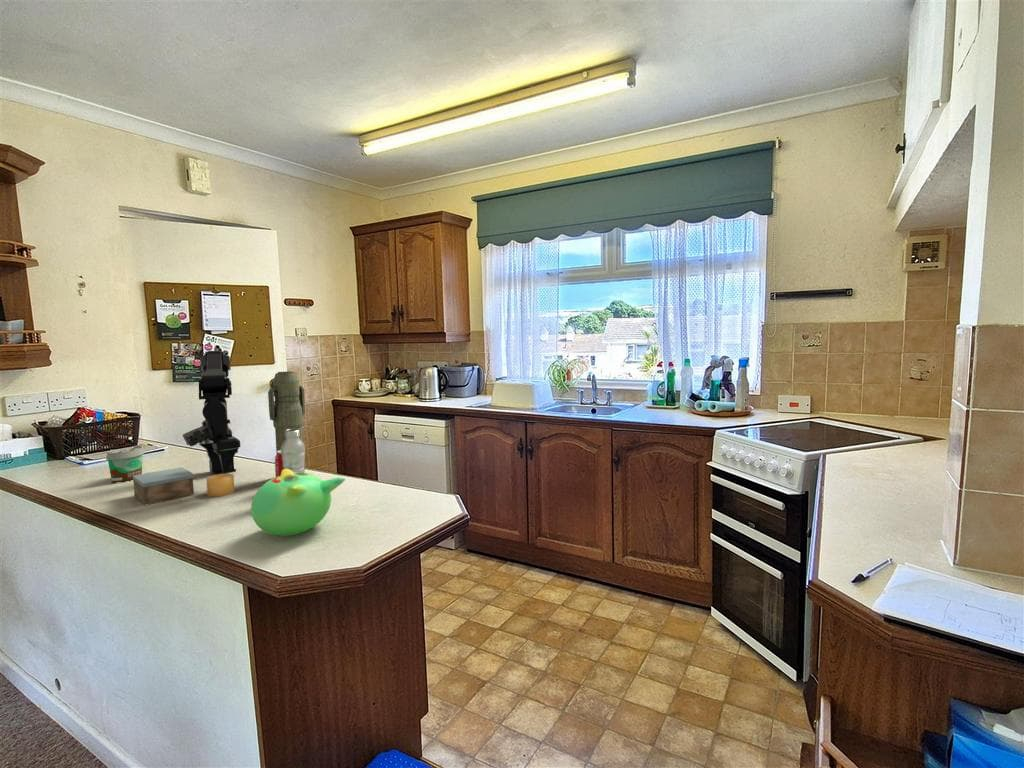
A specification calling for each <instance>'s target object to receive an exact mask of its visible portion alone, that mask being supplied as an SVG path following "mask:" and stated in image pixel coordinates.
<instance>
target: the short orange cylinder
mask: <svg viewBox="0 0 1024 768" xmlns="http://www.w3.org/2000/svg"><path fill="white" fill-rule="evenodd" d="M205 481H206V489H207V490H206V491H207V493H206V494H207V496H208V497H211V496H212V497H213V498H214V497H223V496H224V495H225V496H228V494H229V495H232V494H233V493H235V475H234V473H222V474H213V475H210V476H207V477H206V480H205ZM231 493H232V494H231Z"/></svg>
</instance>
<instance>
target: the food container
mask: <svg viewBox="0 0 1024 768" xmlns="http://www.w3.org/2000/svg"><path fill="white" fill-rule="evenodd" d="M133 447H134V448H131V449H126V450H124V449H123V450H120V451H118V452H109V453H108V452H107V453H106V458H105V460H106V461H108V468H109V473H110V478H111V484H117V483H116V482H122V483H127V482H126V481H129V482H132V481H131V480H133V476H134V475H140V474H143V455H144V454H145V449H144V448H143V446H141V445H134V446H133Z"/></svg>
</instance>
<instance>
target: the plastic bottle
mask: <svg viewBox="0 0 1024 768" xmlns="http://www.w3.org/2000/svg"><path fill="white" fill-rule="evenodd" d="M299 436H300V434H299V429H289V430H286V431H285V437H286V440H285V441H284V443H283V444H282V446H281V456H282V460H283V467H284V469H289V470H291V471H293V472H294V473H306V472H304V459H305V456H306V446H305V443H304V442H303V440H302V441H301V440H300V439H299ZM305 460H306V459H305Z"/></svg>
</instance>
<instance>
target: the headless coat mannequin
mask: <svg viewBox="0 0 1024 768" xmlns="http://www.w3.org/2000/svg"><path fill="white" fill-rule="evenodd" d="M272 380H273V381H272V387H270V388H269V390H268V391H267V395H268V396H267V399H268V415H269V420H270V421H273V423H272V424H273V425H272V426H273V428H274V430H275V432H274V433H275V451H276V452H275V453H276V454H277V451H278V450H281V446H282V444H283V443H284V441H285V440H286V437H285V431H286V430H289V429H299V434H300V436H299V439H300V440H301V441H302V442H303V433H302V432H303V431H302V428H303V425H304V423H303V422H304V419H303V418H304V416H305V414H306V404H305V403H306V402H305V401H306V400H305V388H304V387H303V386H302V385H300V380H299V378H298V375H297V372H294V371H277V373H275V374H274V378H273V379H272ZM305 470H306V459H304V472H305ZM305 473H306V472H305Z"/></svg>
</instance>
